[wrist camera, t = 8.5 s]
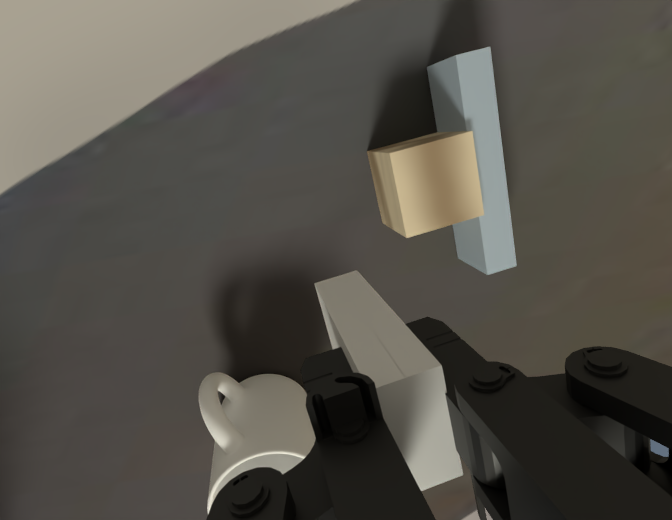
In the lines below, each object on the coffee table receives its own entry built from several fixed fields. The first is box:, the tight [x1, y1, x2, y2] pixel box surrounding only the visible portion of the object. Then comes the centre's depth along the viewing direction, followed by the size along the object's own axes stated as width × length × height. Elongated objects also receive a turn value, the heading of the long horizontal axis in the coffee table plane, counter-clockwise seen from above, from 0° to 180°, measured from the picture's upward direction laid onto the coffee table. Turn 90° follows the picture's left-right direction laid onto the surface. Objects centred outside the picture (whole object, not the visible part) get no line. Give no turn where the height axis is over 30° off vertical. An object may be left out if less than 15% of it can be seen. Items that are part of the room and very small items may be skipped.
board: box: [427, 47, 517, 275], centre depth 34 cm, size 2×16×5 cm, turn 14°
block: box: [367, 131, 484, 238], centre depth 33 cm, size 6×6×6 cm
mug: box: [199, 372, 316, 514], centre depth 33 cm, size 12×8×10 cm
